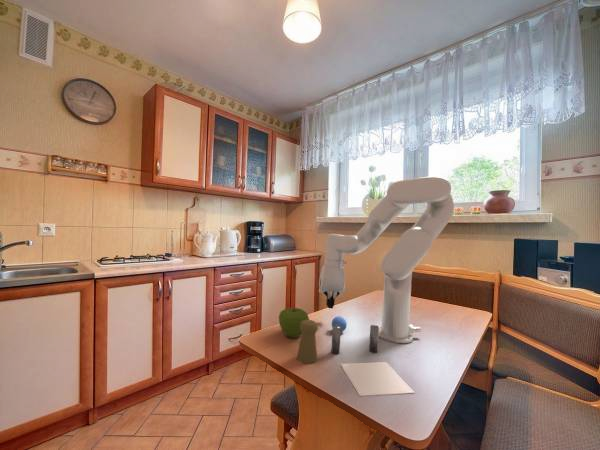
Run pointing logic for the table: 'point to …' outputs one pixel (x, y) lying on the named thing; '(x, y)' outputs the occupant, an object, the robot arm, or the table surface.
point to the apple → (292, 321)
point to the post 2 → (373, 339)
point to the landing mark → (375, 379)
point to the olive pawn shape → (307, 342)
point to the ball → (339, 322)
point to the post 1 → (336, 339)
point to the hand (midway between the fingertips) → (330, 307)
